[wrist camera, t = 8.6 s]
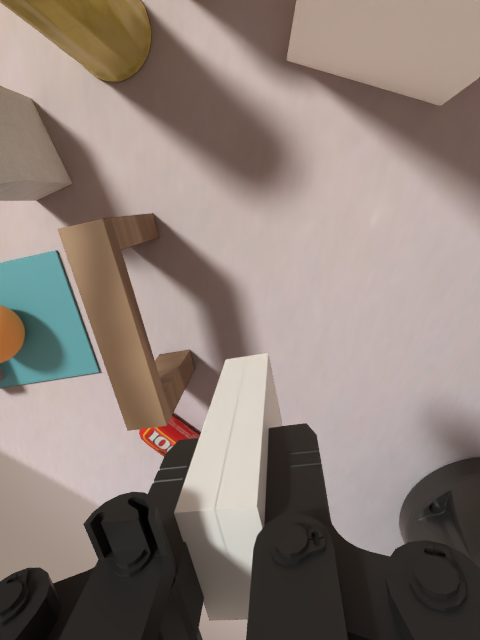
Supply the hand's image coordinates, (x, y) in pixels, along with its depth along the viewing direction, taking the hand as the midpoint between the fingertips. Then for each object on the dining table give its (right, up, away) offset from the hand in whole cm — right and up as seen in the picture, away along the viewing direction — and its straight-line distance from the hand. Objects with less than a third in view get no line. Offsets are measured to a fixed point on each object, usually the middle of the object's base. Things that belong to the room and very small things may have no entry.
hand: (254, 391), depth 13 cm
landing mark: (-21, +2, +22) cm, 31 cm away
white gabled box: (-17, +16, +17) cm, 30 cm away
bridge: (-8, +4, +20) cm, 22 cm away
